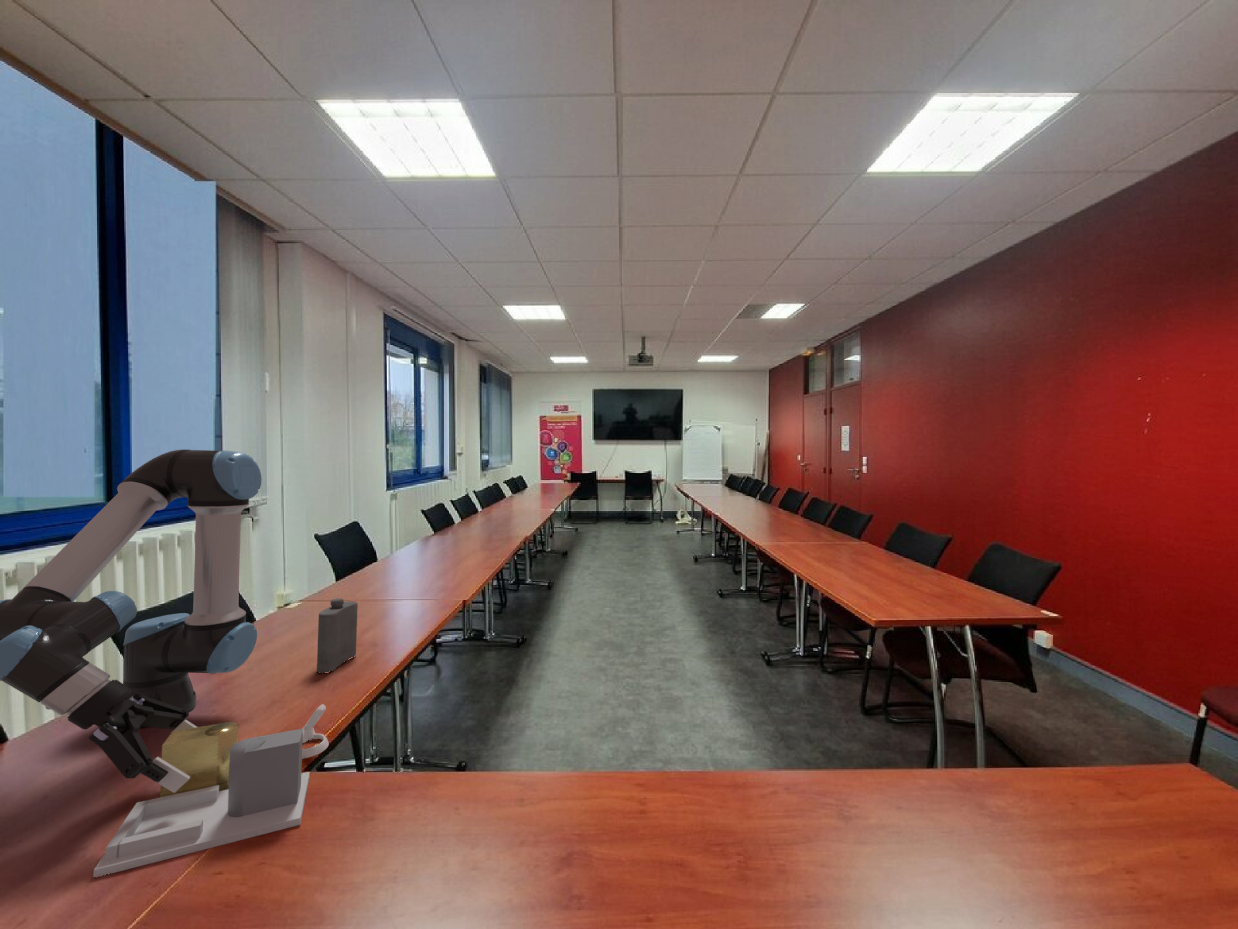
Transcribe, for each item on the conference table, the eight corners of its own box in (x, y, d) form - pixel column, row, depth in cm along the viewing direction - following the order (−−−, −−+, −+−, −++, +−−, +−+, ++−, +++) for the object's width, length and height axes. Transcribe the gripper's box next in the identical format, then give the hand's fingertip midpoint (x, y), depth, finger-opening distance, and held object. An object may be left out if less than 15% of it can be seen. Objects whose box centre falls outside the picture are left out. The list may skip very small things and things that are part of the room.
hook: (337, 736, 102) (307, 720, 101) (306, 776, 104) (276, 761, 102) (353, 711, 110) (325, 696, 108) (324, 749, 111) (296, 734, 110)
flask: (341, 654, 158) (343, 593, 158) (359, 655, 158) (361, 593, 158) (309, 673, 143) (312, 605, 143) (328, 674, 143) (331, 606, 143)
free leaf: (160, 806, 88) (162, 745, 88) (170, 789, 92) (172, 731, 92) (232, 790, 92) (234, 732, 92) (239, 775, 97) (241, 720, 97)
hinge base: (93, 878, 72) (96, 796, 73) (134, 816, 85) (136, 746, 85) (300, 824, 84) (302, 754, 84) (309, 777, 97) (311, 716, 97)
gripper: (103, 685, 95) (198, 746, 101) (19, 754, 72) (147, 826, 79) (141, 654, 97) (231, 715, 104) (70, 711, 75) (191, 785, 81)
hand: (195, 763), depth 91 cm, fingers open, 13 cm apart
